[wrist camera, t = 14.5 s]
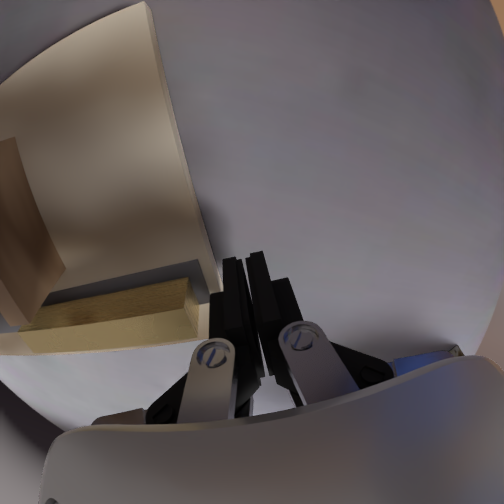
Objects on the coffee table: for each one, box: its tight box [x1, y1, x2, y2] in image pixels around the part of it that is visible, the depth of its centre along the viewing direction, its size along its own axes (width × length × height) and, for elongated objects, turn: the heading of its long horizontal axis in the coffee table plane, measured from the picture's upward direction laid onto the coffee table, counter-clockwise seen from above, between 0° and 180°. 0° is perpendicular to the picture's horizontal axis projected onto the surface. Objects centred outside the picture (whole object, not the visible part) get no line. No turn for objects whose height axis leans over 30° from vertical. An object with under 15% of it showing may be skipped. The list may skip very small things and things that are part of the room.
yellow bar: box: [17, 277, 200, 353], centre depth 11 cm, size 2×10×2 cm, turn 101°
